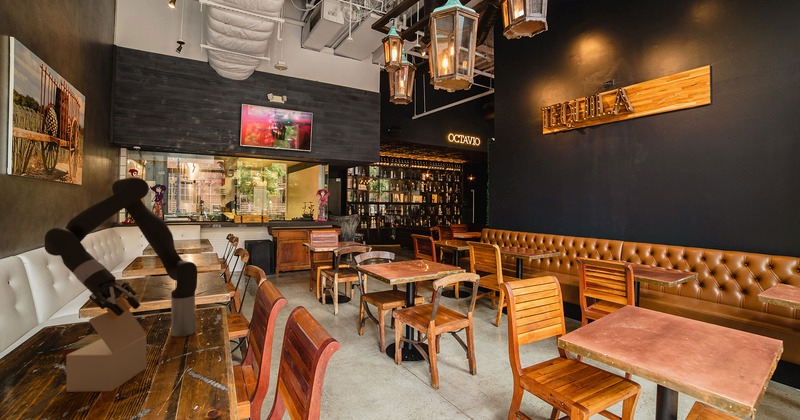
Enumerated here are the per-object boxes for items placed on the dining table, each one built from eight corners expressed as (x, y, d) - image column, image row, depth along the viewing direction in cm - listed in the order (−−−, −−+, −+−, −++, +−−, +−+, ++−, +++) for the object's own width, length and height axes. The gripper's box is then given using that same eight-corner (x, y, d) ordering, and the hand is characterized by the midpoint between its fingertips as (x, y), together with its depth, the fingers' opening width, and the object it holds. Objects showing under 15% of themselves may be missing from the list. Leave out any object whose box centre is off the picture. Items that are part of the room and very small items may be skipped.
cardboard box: (146, 368, 129) (146, 336, 129) (111, 391, 113) (111, 354, 113) (107, 368, 129) (106, 336, 129) (66, 391, 113) (66, 355, 113)
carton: (111, 342, 153) (111, 332, 153) (87, 358, 138) (87, 347, 138) (88, 344, 151) (88, 334, 151) (62, 360, 136) (62, 349, 136)
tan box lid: (145, 335, 128) (162, 324, 128) (112, 353, 113) (131, 340, 113) (122, 304, 128) (139, 292, 128) (86, 317, 113) (105, 304, 113)
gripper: (84, 272, 113) (122, 309, 113) (118, 264, 127) (152, 297, 128) (67, 289, 113) (105, 325, 113) (104, 279, 127) (137, 311, 128)
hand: (130, 310), depth 121 cm, fingers open, 7 cm apart
